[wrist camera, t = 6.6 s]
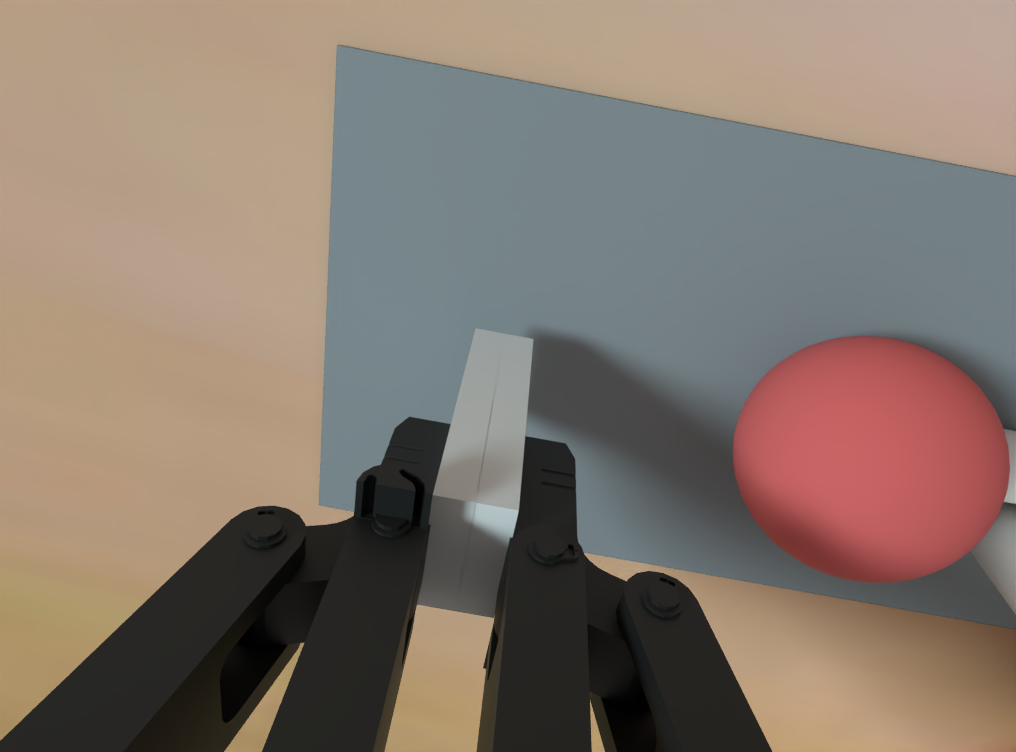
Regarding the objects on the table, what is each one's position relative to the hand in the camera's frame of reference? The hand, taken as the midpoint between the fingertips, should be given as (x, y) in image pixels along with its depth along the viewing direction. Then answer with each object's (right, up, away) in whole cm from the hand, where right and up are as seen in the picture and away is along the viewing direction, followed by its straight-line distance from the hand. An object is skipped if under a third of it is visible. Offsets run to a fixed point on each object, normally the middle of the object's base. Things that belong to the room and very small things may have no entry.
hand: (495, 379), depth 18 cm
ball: (+9, -2, -1) cm, 9 cm away
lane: (+8, 0, +2) cm, 8 cm away
